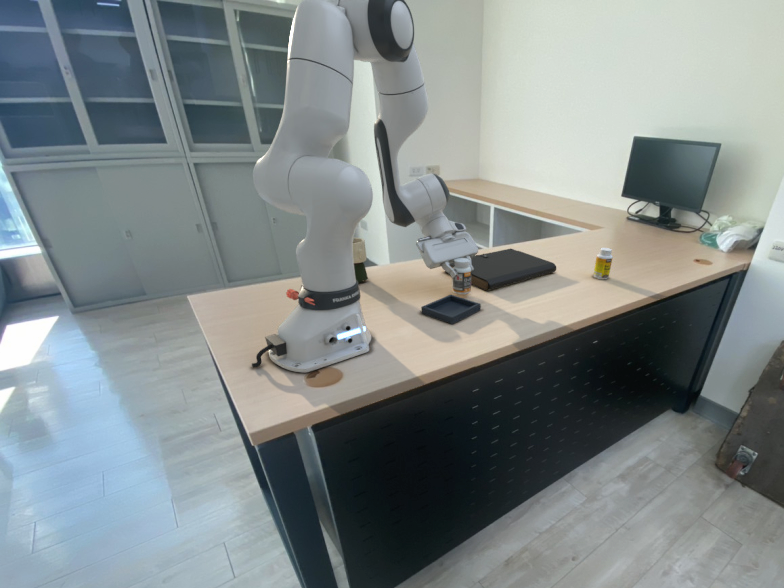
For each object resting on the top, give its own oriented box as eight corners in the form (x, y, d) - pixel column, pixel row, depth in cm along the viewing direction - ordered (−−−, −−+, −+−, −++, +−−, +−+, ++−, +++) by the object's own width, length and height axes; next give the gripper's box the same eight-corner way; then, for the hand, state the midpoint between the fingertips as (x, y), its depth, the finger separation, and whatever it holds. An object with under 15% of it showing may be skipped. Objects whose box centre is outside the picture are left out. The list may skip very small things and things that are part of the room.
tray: (452, 324, 107) (452, 317, 106) (421, 313, 112) (421, 306, 111) (480, 310, 116) (480, 303, 115) (450, 300, 121) (450, 294, 120)
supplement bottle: (602, 281, 144) (608, 252, 139) (590, 276, 147) (594, 248, 142) (611, 278, 147) (617, 249, 142) (598, 274, 151) (603, 246, 145)
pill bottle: (468, 296, 122) (468, 263, 117) (450, 293, 123) (449, 261, 118) (473, 289, 127) (473, 258, 122) (455, 287, 128) (455, 256, 123)
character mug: (339, 278, 132) (332, 238, 125) (359, 274, 137) (354, 235, 130) (356, 288, 126) (350, 245, 119) (376, 283, 131) (372, 242, 124)
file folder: (510, 247, 161) (557, 263, 147) (509, 257, 163) (555, 274, 149) (443, 260, 141) (489, 280, 127) (443, 272, 143) (489, 293, 129)
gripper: (418, 232, 112) (444, 275, 112) (467, 223, 126) (490, 261, 126) (408, 245, 117) (433, 286, 117) (457, 235, 131) (479, 272, 131)
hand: (463, 273), depth 122 cm, fingers closed on pill bottle, 6 cm apart
